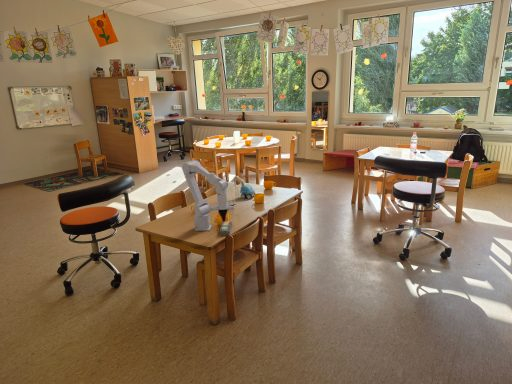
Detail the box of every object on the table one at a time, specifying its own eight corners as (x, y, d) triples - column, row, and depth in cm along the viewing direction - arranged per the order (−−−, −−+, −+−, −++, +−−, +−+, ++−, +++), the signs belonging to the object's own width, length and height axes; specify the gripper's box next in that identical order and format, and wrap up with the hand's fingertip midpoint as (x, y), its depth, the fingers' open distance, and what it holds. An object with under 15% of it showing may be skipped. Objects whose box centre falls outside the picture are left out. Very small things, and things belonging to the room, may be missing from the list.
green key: (222, 232, 211) (221, 228, 210) (222, 230, 214) (222, 226, 213) (227, 232, 211) (226, 228, 210) (227, 230, 213) (227, 226, 213)
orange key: (224, 226, 222) (224, 223, 221) (225, 224, 224) (224, 221, 224) (229, 226, 221) (228, 223, 221) (229, 224, 224) (229, 221, 224)
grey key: (223, 228, 216) (223, 225, 215) (223, 226, 219) (223, 223, 218) (228, 228, 216) (227, 225, 215) (228, 226, 219) (228, 223, 218)
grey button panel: (219, 235, 211) (219, 231, 210) (222, 225, 225) (222, 221, 225) (229, 235, 210) (229, 231, 210) (232, 225, 225) (231, 221, 224)
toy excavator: (238, 194, 288) (237, 174, 283) (256, 196, 281) (255, 175, 275) (233, 197, 280) (231, 177, 275) (251, 199, 273) (250, 178, 268)
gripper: (235, 197, 209) (236, 218, 213) (211, 197, 211) (213, 218, 215) (233, 201, 202) (235, 222, 207) (209, 201, 204) (211, 223, 208)
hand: (224, 221), depth 210 cm, fingers closed
